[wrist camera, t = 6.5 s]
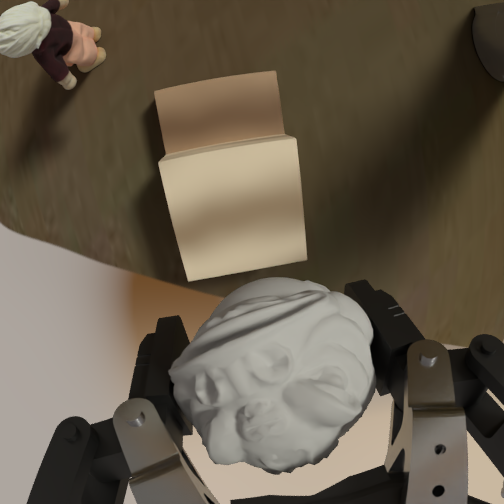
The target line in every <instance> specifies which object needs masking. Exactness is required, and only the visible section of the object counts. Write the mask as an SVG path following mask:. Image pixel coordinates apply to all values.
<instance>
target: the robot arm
mask: <svg viewBox="0 0 504 504" xmlns="http://www.w3.org/2000/svg"><path fill="white" fill-rule="evenodd" d="M474 9H475V14H476V15H475V18H474V20H473V26H472V33H473V40H474V44H475V48H476V51H477V53H478V56H479V58H480V60H481V62H482V64H483V65H484V67H485V68H486V70H487V71H488V72H489V73H490V75H491V76H492V77H494V78H495V79H496V80H499V81H502V82H504V3H496V4H489V5H483V6H477V7H474ZM344 295H346V296H348V297H350V298H351V299H352V300H354V301H355V302H357V303H358V304H359V306H360V307H361V308H362V309H363V310H364V312H365V313H366V314H367V316H368V318H369V320H370V323H371V326H372V329H373V341H372V343H371V346H370V352H371V358H372V364H373V367H374V369H375V376H376V384H377V385H376V389H377V391H378V393H379V395H380V396H383V395H386V394H389V393H391V395H392V397H393V402H392V408H391V424H390V434H389V444H388V452H387V456H386V459H385V463H384V465H382V466H379V467H377V468H374V469H371V470H368V471H365V472H362V473H359V474H356V475H353V476H349V477H347V478H346V479H344V480H342V481H340V482H339V483H336V484H335V485H333V486H331V487H329V488H327V489H325V490H323V491H321V492H319V493H317V494H315V495H311V496H279V495H267V496H260V497H253V498H245V499H236V500H231V504H490V503H488V502H485V501H482V500H480V499H477V498H474V497H472V496H469V495H468V450H467V431H468V432H469V433H470V435H471V436H472V437H473V438H474V440H475V441H476V442H477V443H478V445H479V446H480V447H481V448H482V450H483V451H484V452H485V453H486V455H487V456H488V457H489V459H490V460H491V461H492V462H493V464H494V465H495V466H496V468H497V469H498V470H499V472H500V473H501V474H502V476H503V477H504V411H503V409H502V408H501V407H500V406H499V405H498V404H497V403H496V402H495V401H494V400H493V398H492V397H491V396H490V395H489V394H488V393H487V392H486V391H487V389H489V390H490V391H491V392H492V393H493V394H494V395H495V396H496V397H497V398H498V399H499V401H500V402H501V403H502V404H503V405H504V344H503V343H502V342H501V341H500V340H499V339H498V338H496V337H494V336H492V335H487V334H482V335H478V336H476V337H474V338H473V339H472V341H471V343H470V346H469V348H463V349H453V350H447V349H446V348H445V347H444V346H443V345H442V344H441V343H439V342H437V341H434V340H427V339H425V338H424V337H423V335H422V334H421V333H420V331H419V330H418V329H417V327H416V326H415V325H414V324H413V322H412V321H411V320H410V318H409V317H408V316H407V315H406V314H405V313H404V311H403V309H402V308H401V307H399V304H398V303H397V302H396V301H395V299H394V298H393V297H392V296H391V295H389V294H387V293H386V292H384V291H382V290H377V291H375V290H374V289H373V288H372V287H371V285H370V284H369V283H368V281H367V280H361V281H356V282H352V283H347V284H346V285H345V291H344ZM189 344H190V342H189V340H188V337H187V334H186V331H185V328H184V326H183V323H182V320H181V318H180V317H179V315H177V316H171V317H165V318H159V319H158V322H157V327H156V332H155V333H151V334H147V335H146V337H145V338H144V339H143V341H142V342H141V344H140V346H139V351H138V357H137V359H136V366H135V369H134V373H133V378H132V383H131V388H130V393H129V398H128V400H127V401H125V402H123V403H122V404H121V405H120V406H119V407H118V408H117V409H116V411H115V413H114V415H113V418H110V419H108V420H104V421H101V422H98V423H94V424H91V425H90V424H89V423H88V422H87V421H86V420H85V419H83V418H81V417H77V416H75V417H69V418H67V419H65V420H63V421H62V422H61V423H60V424H59V425H58V426H57V428H56V430H55V432H54V434H53V437H52V439H51V441H50V444H49V446H48V449H47V451H46V453H45V456H44V458H43V461H42V463H41V466H40V468H39V471H38V474H37V476H36V479H35V482H34V484H33V487H32V490H31V493H30V495H29V499H28V502H27V504H123V502H124V498H125V494H126V490H127V486H128V482H129V484H130V488H131V490H132V493H133V495H134V497H135V499H136V502H137V504H220V503H218V501H217V499H216V498H215V497H214V496H213V494H212V493H211V492H210V490H209V489H208V487H207V486H206V484H205V483H204V481H203V480H202V478H201V477H200V475H199V473H198V472H197V470H196V468H195V467H194V465H193V464H192V462H191V460H190V458H189V457H188V455H187V453H186V452H185V450H184V449H183V447H182V446H183V442H182V441H183V436H184V435H192V434H193V433H192V432H193V430H192V429H193V425H192V423H191V422H190V421H188V420H187V418H186V416H185V415H184V413H183V412H182V410H181V409H180V407H179V405H178V404H177V402H176V400H175V397H174V385H175V384H174V383H173V382H172V381H171V376H170V375H169V372H168V371H169V370H170V369H171V367H172V364H173V362H174V361H175V360H176V359H177V358H179V357H180V356H181V354H182V352H183V350H184V349H185V348H186V347H187V346H188V345H189ZM466 430H467V431H466ZM130 477H132V478H130ZM129 478H130V479H129ZM501 495H502V497H503V498H504V482H503V488H502V490H501Z"/></svg>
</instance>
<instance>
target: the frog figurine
mask: <svg viewBox="0 0 504 504" xmlns="http://www.w3.org/2000/svg"><path fill="white" fill-rule="evenodd" d="M372 341H373V329H372V326H371V323H370V320H369V318H368V316H367V314H366V313H365V312H364V310H363V309H362V308H361V307H360V306H359V304H358V303H357V302H355V301H354V300H352V299H351V298H350V297H348V296H346V295H344V294H341V293H339V292H331V291H329V290H328V289H327V288H326V287H325V286H322V285H320V284H317V283H313V282H311V281H309V280H307V281H300V280H297V279H291V278H282V277H272V278H264V279H259V280H256V281H253V282H250V283H248V284H245V285H243V286H241V287H239V288H238V289H236V290H235V291H233V292H232V293H231V294H229V295H228V296H227V297H226V298H225V299H224V300H223V301H222V302H221V303H220V304H219V305H218V306H217V307H216V309H215V310H214V312H213V313H212V315H211V316H210V318H209V319H208V320H207V321H206V322H205V323H204V324H203V325H202V326H201V327H200V328H199V330H198V332H197V333H196V335H195V337H194V339H193V341H192V342H191V343H190V344H189V345H188V346H187V347H186V348H185V349H184V350H183V352H182V354H181V356H180V357H179V358H177V359H176V360H175V361H174V362H173V364H172V367H171V369H170V370H169V371H168V372H169V375H170V376H171V381H172V382H173V383H174V384H175V385H174V397H175V400H176V402H177V404H178V405H179V407H180V409H181V410H182V412H183V413H184V415H185V416H186V418H187V420H188V421H190V422H191V423H192V425H193V426H194V427H195V428H196V429H197V432H198V434H199V435H200V436H201V438H202V444H203V445H204V446H205V447H206V449H207V452H208V454H209V457H210V459H211V460H212V461H213V462H214V463H215V464H223V465H230V464H234V463H238V462H246V463H248V464H250V465H252V466H254V467H259V468H262V469H263V470H265V471H266V472H268V473H271V474H275V475H276V474H277V475H278V474H280V473H281V472H287V473H291V472H292V471H293V470H294V469H295V468H297V467H302V466H304V465H306V464H308V463H310V464H313V465H315V464H317V463H319V462H320V461H321V460H322V459H323V458H327V457H328V456H329V454H330V453H331V452H332V451H333V450H334V449H335V448H336V446H337V445H338V442H339V441H338V439H339V438H340V437H341V436H343V435H344V434H345V433H346V432H348V431H349V429H350V428H351V427H352V426H353V425H354V424H355V423H356V422H357V421H358V419H359V418H360V417H362V415H363V413H364V411H365V410H366V409H367V406H368V404H369V403H370V401H371V399H372V397H373V395H374V393H375V388H376V385H377V384H376V376H375V369H374V367H373V364H372V358H371V352H370V346H371V343H372Z"/></svg>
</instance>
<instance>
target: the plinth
mask: <svg viewBox="0 0 504 504" xmlns="http://www.w3.org/2000/svg"><path fill="white" fill-rule="evenodd" d="M154 94H155V100H156V105H157V111H158V116H159V121H160V127H161V132H162V137H163V142H164V147H165V152H166V155H165V156H164V157H163V158H162V159H161V160H160V161H159V162H158V164H159V169H160V173H161V178H162V182H163V186H164V191H165V195H166V199H167V203H168V207H169V211H170V215H171V219H172V223H173V227H174V231H175V235H176V239H177V243H178V246H179V250H180V254H181V257H182V261H183V265H184V268H185V272H186V275H187V279H188V282H189V281H194V280H200V279H206V278H211V277H217V276H223V275H228V274H234V273H239V272H245V271H250V270H256V269H261V268H266V267H272V266H277V265H283V264H288V263H293V262H298V261H304V260H307V251H306V237H305V224H304V212H303V200H302V189H301V179H300V169H299V160H298V150H297V142H296V138H294V137H291V136H289V135H286V134H284V126H283V118H282V111H281V104H280V96H279V89H278V83H277V76H276V71H268V72H259V73H250V74H242V75H235V76H228V77H222V78H215V79H210V80H204V81H199V82H194V83H189V84H184V85H179V86H175V87H170V88H166V89H162V90H158V91H154Z"/></svg>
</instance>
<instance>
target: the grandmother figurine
mask: <svg viewBox="0 0 504 504" xmlns="http://www.w3.org/2000/svg"><path fill="white" fill-rule="evenodd" d="M68 2H69V0H49V1H47V2H46V3H45V4H43V5H42V6H41V7H40V6H38V4H37V3H35V2H27V3H25V4H21V5H18V6H15V7H13V8H10V9H9V10H7V11H5V12H4V13H3V14H2V15H1V17H0V53H1V54H3V55H6V56H8V57H12V58H17V57H20V56H24V55H27V54H30V53H31V52H32V54H33V56H34V58H35V59H36V60H37V62H38V63H39V64H40V65H41V66H42V67H43V69H44V70H45V71H46V72H47V73H48V74H49V75H50V76H51V78H52V79H53V80H54V81H55V82H58V83H59V84H61V85H62V86H63V87H64V88H65V89H66V90H70V89H72V88H74V87H75V85H76V83H77V80H76V77H75V76H73V75H72V74H71V72H70V71H69V69H68V67H67V66H72V65H73V64H77V67H78V69H79V70H80V71H81V72H88V71H90V70H92V69H93V68H95V67H96V66H98V65H100V64H101V63H102V62H103V61H104V60H105V58H106V53H105V50H104V49H103V48H101V47H98V48H97V47H96V45H95V43H96V42H97V41H98V40H99V39H100V37H101V30H100V28H98V27H89V26H87V25H85V24H82V23H79V22H71V21H67V20H65V19H64V18H62V17H61V16H59V15H56V14H55V13H56V12H57V11H58V10H60V9H63V8H65V7H66V6H67V5H68Z"/></svg>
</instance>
